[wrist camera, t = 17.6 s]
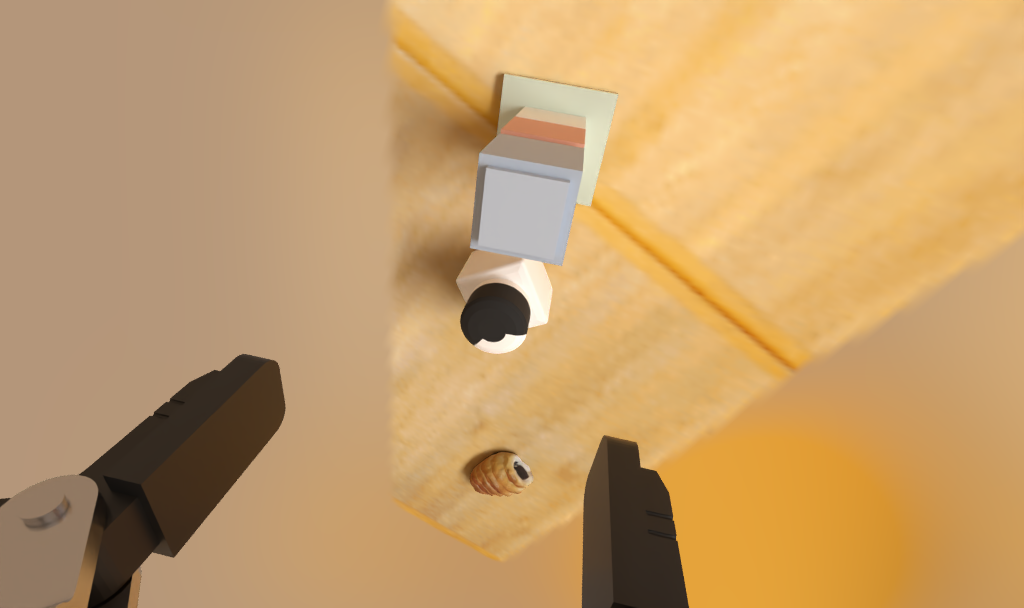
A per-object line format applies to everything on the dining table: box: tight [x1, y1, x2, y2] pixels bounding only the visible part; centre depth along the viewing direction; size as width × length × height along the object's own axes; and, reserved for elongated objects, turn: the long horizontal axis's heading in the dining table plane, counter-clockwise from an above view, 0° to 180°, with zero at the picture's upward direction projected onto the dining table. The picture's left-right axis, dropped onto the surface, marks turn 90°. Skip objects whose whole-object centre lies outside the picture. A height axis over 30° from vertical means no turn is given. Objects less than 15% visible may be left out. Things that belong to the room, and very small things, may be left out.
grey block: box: [470, 133, 584, 266], centre depth 27 cm, size 6×6×7 cm
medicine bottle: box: [456, 250, 553, 353], centre depth 44 cm, size 7×7×12 cm
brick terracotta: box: [501, 117, 586, 148], centre depth 32 cm, size 6×6×7 cm
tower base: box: [497, 73, 618, 206], centre depth 38 cm, size 10×10×7 cm
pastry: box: [470, 452, 533, 496], centre depth 64 cm, size 9×7×4 cm
